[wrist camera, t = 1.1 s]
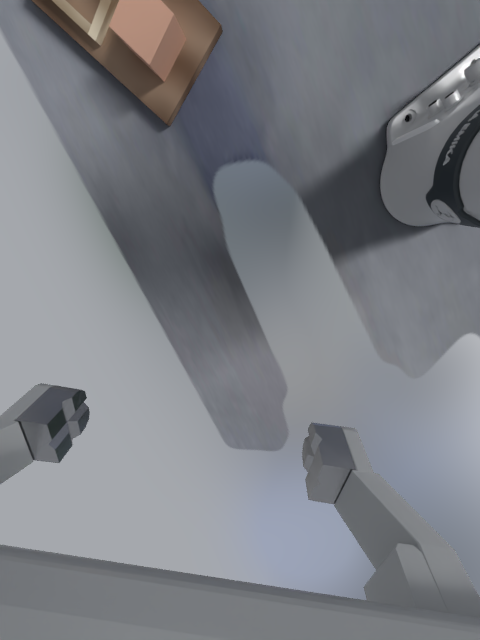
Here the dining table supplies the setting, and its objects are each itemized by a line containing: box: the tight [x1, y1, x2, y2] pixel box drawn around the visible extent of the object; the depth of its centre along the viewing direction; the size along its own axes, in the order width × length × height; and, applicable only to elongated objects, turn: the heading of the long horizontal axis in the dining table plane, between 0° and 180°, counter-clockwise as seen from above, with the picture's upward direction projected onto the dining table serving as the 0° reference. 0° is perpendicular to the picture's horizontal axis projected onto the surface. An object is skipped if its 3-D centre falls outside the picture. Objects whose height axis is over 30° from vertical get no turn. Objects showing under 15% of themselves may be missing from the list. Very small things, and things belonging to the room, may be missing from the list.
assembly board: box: [32, 0, 222, 126], centre depth 30 cm, size 12×20×3 cm, turn 51°
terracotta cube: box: [109, 0, 186, 82], centre depth 29 cm, size 5×5×5 cm
